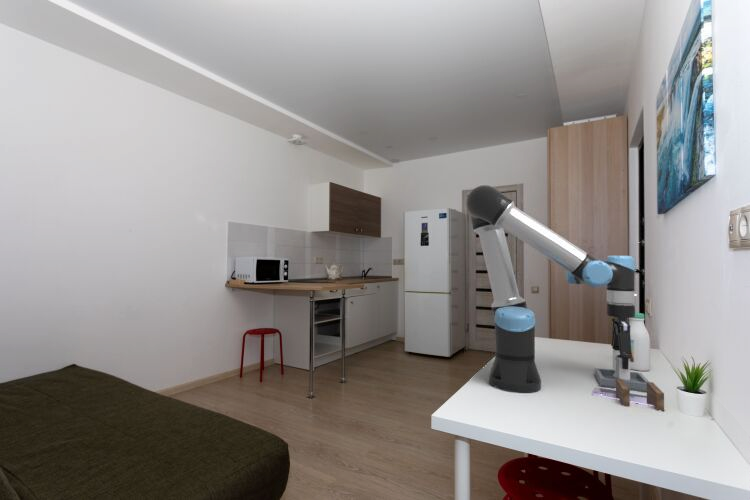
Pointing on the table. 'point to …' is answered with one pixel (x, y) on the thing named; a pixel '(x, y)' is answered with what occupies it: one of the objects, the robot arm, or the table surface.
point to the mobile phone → (612, 394)
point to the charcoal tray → (635, 382)
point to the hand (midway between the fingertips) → (621, 374)
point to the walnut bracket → (652, 393)
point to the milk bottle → (639, 344)
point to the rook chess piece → (617, 369)
